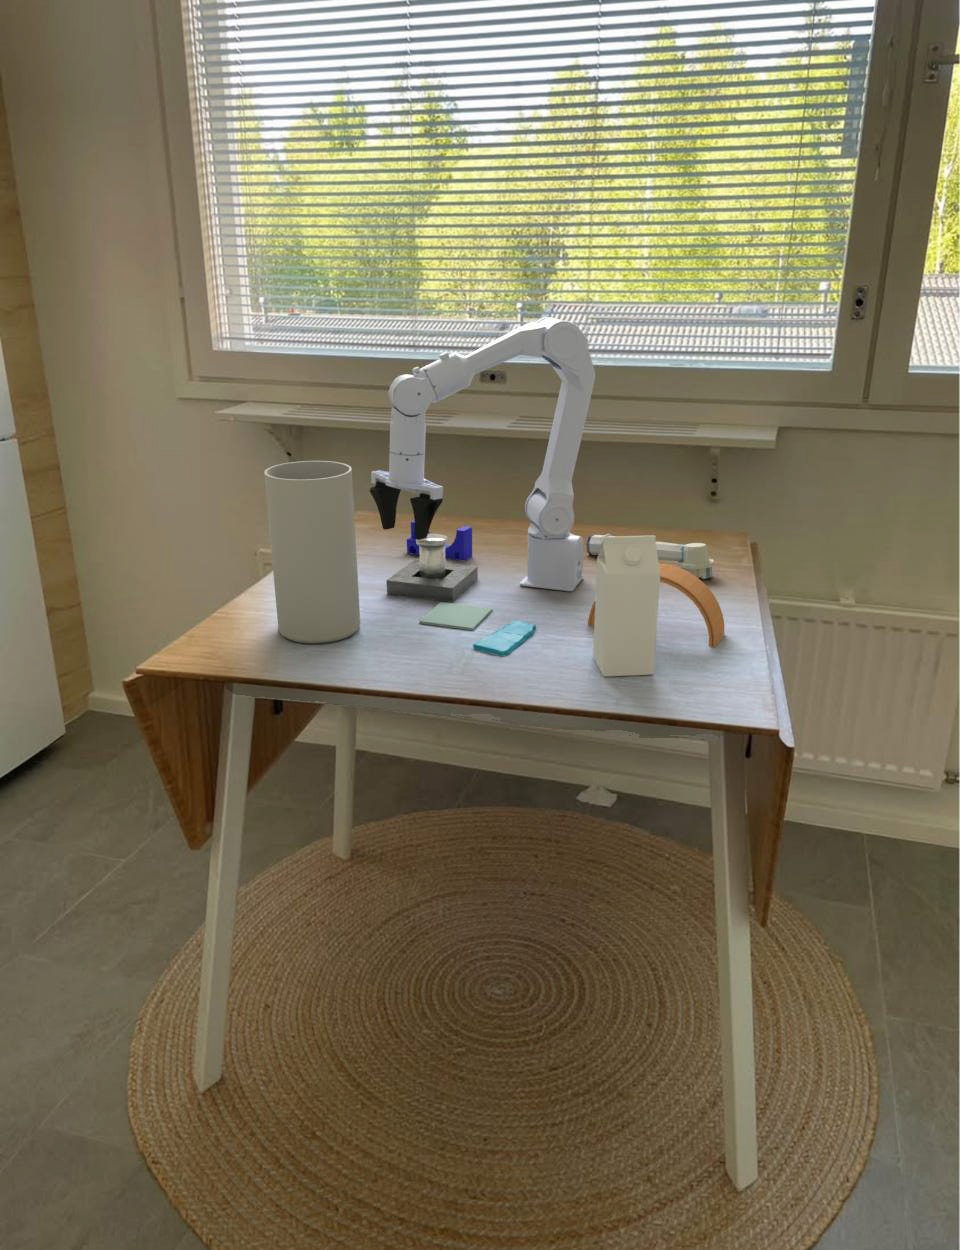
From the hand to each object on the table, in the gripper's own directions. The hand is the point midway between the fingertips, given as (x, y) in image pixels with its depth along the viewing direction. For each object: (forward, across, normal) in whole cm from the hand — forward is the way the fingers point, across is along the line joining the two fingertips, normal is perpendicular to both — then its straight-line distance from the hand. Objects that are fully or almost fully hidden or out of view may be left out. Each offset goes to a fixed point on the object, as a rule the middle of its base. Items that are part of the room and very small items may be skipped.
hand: (404, 533), depth 160 cm
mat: (+10, +14, -2) cm, 18 cm away
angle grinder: (+8, +24, +40) cm, 47 cm away
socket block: (+10, +2, +6) cm, 12 cm away
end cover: (+10, +2, +6) cm, 12 cm away
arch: (+9, +42, +13) cm, 44 cm away
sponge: (+10, +27, -4) cm, 29 cm away
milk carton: (+9, +45, -2) cm, 46 cm away
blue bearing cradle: (+10, -10, +20) cm, 24 cm away
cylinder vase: (+12, +2, -20) cm, 23 cm away
